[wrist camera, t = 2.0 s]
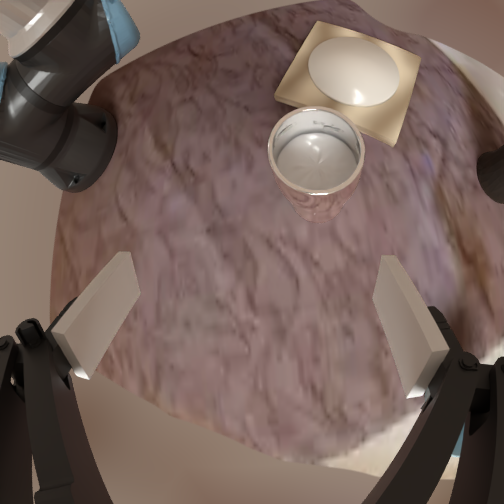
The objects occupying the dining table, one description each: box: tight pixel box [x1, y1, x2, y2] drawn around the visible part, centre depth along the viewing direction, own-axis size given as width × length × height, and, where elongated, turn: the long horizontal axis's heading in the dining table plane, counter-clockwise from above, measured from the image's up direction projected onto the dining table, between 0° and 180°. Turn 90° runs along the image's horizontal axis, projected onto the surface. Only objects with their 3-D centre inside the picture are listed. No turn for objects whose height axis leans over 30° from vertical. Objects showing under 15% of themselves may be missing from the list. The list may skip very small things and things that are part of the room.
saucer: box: [308, 37, 400, 107], centre depth 30 cm, size 12×12×1 cm
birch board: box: [274, 21, 421, 147], centre depth 31 cm, size 16×16×2 cm
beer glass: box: [267, 106, 365, 223], centre depth 25 cm, size 7×7×15 cm
